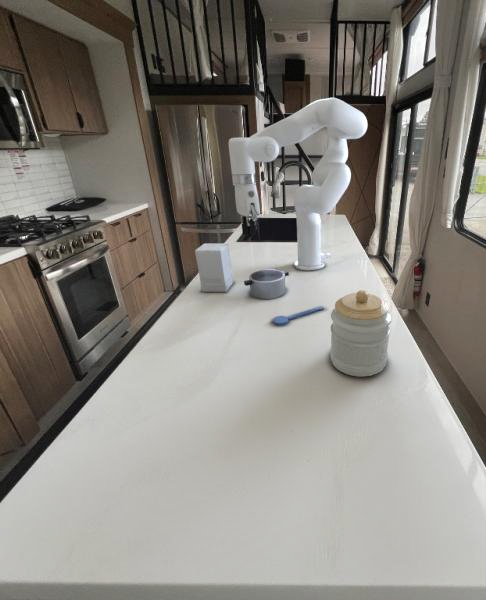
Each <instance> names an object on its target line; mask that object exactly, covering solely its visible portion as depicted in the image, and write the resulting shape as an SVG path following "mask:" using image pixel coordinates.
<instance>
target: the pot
mask: <svg viewBox="0 0 486 600" xmlns="http://www.w3.org/2000/svg"><path fill="white" fill-rule="evenodd" d="M288 276H290V273H289V271H287V270H286V271H282V270H279V269H273V268H272V269H271V268H267V269H260V270H259V269H258V270H256V271H253V272H252V273H250V274H249V276H248V279H247V280H244V281H243V284H244V286H246V287H247V286H249V290H250V291H249V292H250V295H251V296H252V297H253V298H256V299H258V300H259V299H260V300H272V299H277V298H280V297H282V296H283V295H285V294H286V291H287V290H286V289H287V288H286V277H288Z"/></svg>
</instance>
